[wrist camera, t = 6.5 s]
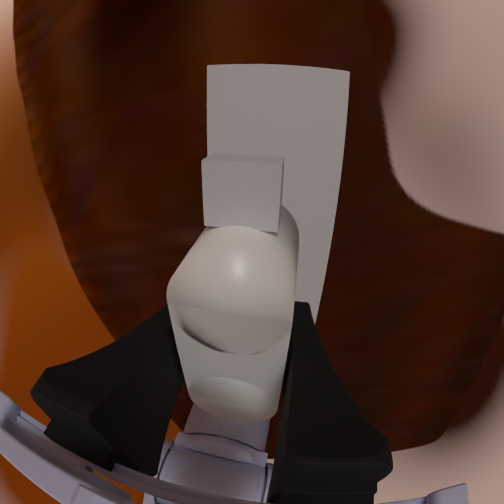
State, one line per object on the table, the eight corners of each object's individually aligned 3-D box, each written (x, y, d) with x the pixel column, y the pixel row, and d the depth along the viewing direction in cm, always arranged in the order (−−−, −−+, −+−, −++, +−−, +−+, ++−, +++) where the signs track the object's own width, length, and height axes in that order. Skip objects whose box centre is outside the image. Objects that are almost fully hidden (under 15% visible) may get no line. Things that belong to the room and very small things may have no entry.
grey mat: (311, 336, 24) (311, 341, 23) (218, 324, 25) (216, 328, 24) (348, 72, 14) (349, 71, 13) (210, 66, 15) (207, 65, 14)
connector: (284, 354, 15) (273, 427, 11) (218, 345, 16) (194, 413, 12) (308, 149, 10) (309, 186, 6) (208, 143, 10) (149, 177, 6)
